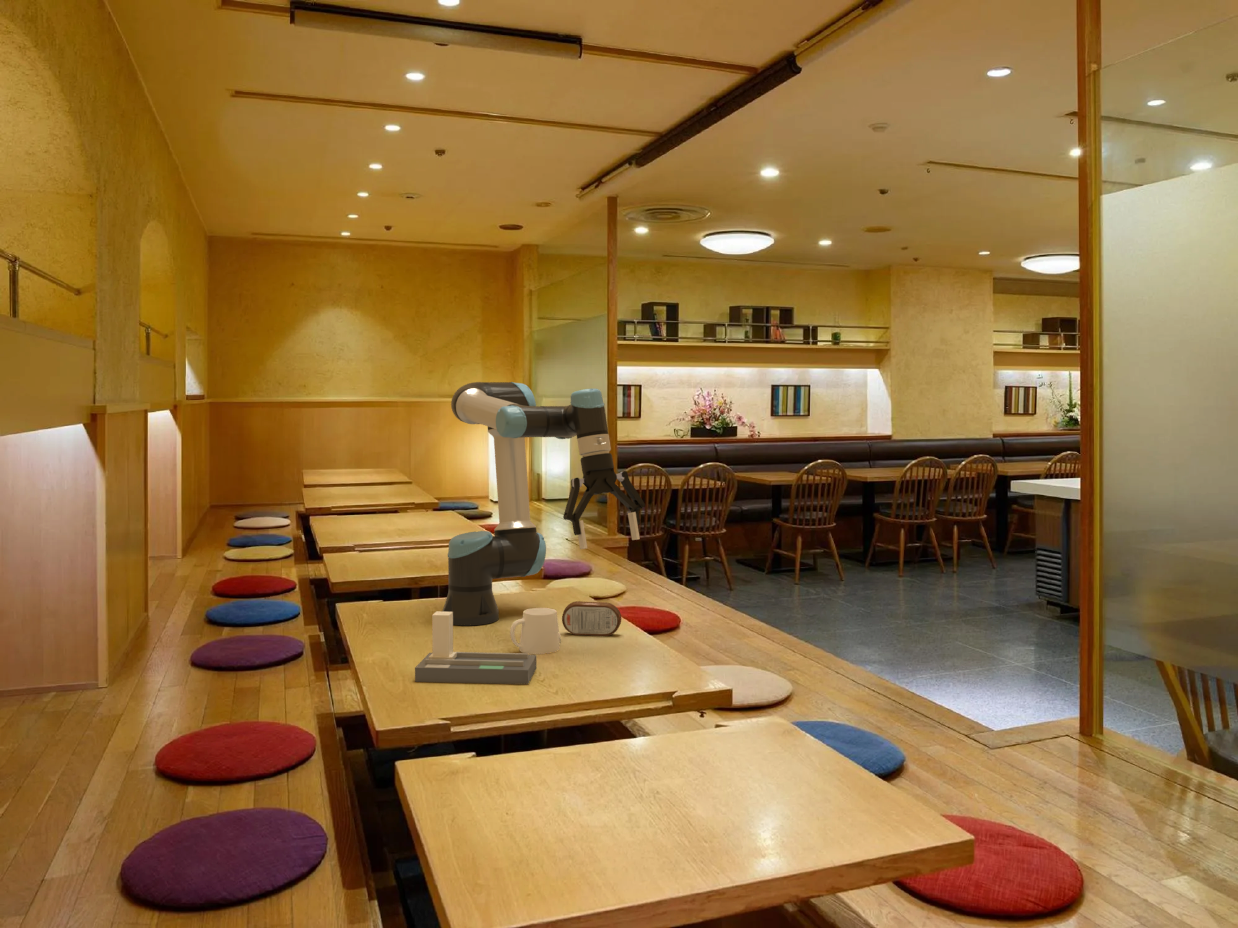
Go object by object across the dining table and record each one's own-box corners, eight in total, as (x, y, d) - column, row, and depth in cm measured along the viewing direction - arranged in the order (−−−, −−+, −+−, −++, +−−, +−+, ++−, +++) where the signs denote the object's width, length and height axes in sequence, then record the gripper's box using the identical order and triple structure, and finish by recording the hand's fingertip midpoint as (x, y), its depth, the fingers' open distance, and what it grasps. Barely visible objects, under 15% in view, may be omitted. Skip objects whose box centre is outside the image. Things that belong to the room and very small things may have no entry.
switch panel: (429, 665, 212) (429, 648, 212) (536, 668, 211) (536, 650, 210) (415, 681, 200) (414, 662, 200) (528, 684, 199) (528, 665, 198)
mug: (552, 606, 231) (564, 612, 224) (552, 644, 232) (564, 651, 224) (505, 610, 226) (516, 617, 219) (505, 649, 227) (516, 657, 220)
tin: (621, 634, 242) (621, 601, 241) (620, 637, 239) (620, 604, 238) (562, 632, 243) (563, 600, 243) (561, 635, 240) (561, 602, 240)
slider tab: (434, 655, 208) (433, 610, 207) (456, 656, 208) (456, 611, 207) (428, 661, 203) (428, 615, 203) (452, 661, 203) (451, 615, 202)
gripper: (552, 458, 214) (567, 551, 213) (649, 446, 225) (664, 535, 224) (540, 462, 221) (555, 553, 220) (635, 450, 232) (649, 536, 231)
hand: (610, 544), depth 222 cm, fingers open, 13 cm apart
